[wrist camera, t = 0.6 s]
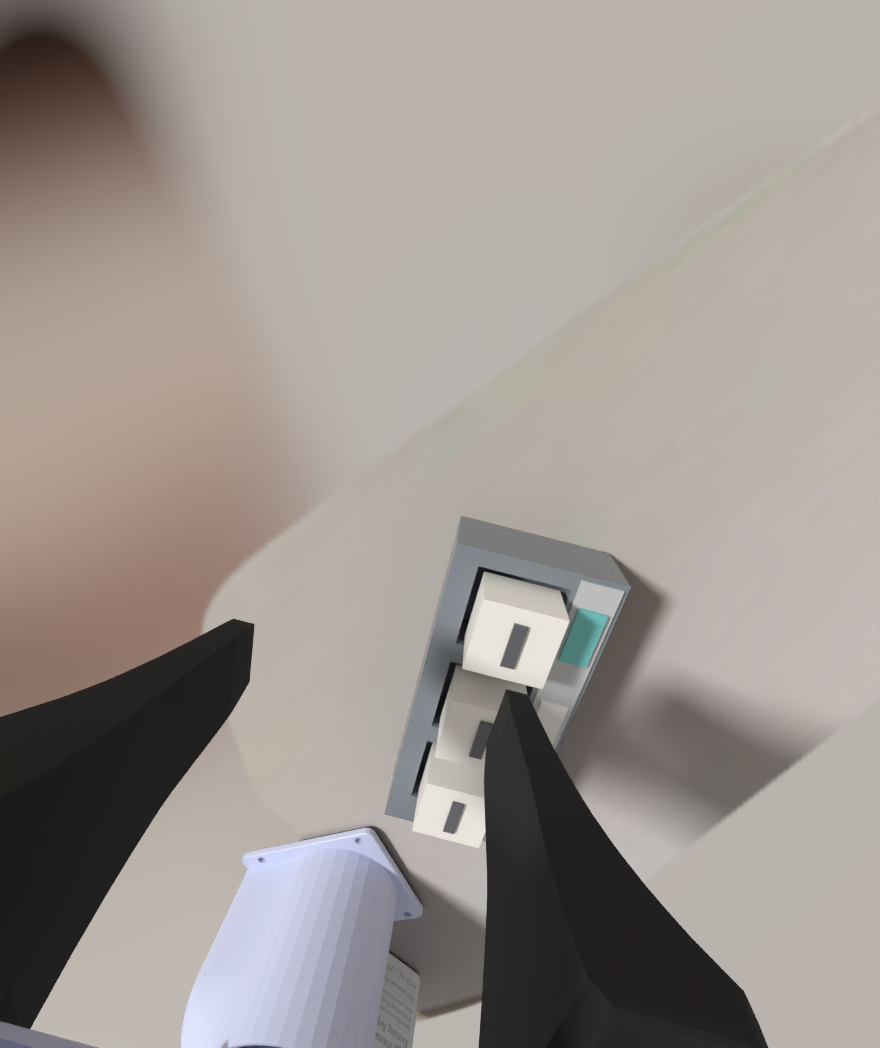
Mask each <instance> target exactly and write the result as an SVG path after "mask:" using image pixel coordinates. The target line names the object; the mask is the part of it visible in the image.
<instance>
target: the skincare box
mask: <svg viewBox="0 0 880 1048" xmlns="http://www.w3.org/2000/svg"><path fill="white" fill-rule="evenodd" d="M419 989H420V976H419V975H418V974H417V973H415V972H414V971H413V970H411V969H410V968H409V967H408V966H406V965H405V964H404V963H402V962H401V961H400V960H398V959H397V958H396V957H394V956H393V955H392V954H390V953H389V954H388V960H387V966H386V972H385V978H384V984H383V990H382V996H381V1002H380V1008H379V1014H378V1020H377V1026H376V1032H375V1038H374V1044H373V1048H412V1044H413V1036H414V1028H415V1020H416V1012H417V1005H418V997H419Z"/></svg>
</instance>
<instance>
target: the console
mask: <svg viewBox="0 0 880 1048" xmlns="http://www.w3.org/2000/svg"><path fill="white" fill-rule="evenodd" d="M484 572H488V573H492V574H496V575H500V576H504V577H508V578H512V579H515V580H519V581H523V582H527V583H531V584H535V585H539V586H543V587H547V588H551V589H555V590H559V591H560V592H561V595H562V598H563V602H564V605H565V608H566V611H567V614H568V617H569V620H570V622H569V624H568V627H567V629H566V632H565V634H564V637H563V639H562V642H561V644H560V647H559V649H558V652H557V654H556V657H555V659H554V662H553V664H552V667H551V669H550V672H549V674H548V677H547V679H546V682H545V684H544V687H543V689H539V688H535V687H531V686H527V685H526V689H527V695H528V696H529V698H530V700H531V702H532V704H533V706H534V708H535V710H536V713H537V715H538V717H539V719H540V721H541V723H542V725H543V727H544V729H545V731H546V733H547V736H548V738H549V740H550V741H551V743H552V745H553V747H554V749H555V751H556V753H557V752H558V750H559V748H560V746H561V743H562V741H563V739H564V737H565V734H566V732H567V730H568V728H569V725H570V723H571V721H572V719H573V717H574V714H575V712H576V710H577V708H578V705H579V703H580V701H581V699H582V696H583V694H584V692H585V690H586V687H587V685H588V683H589V681H590V678H591V676H592V674H593V672H594V669H595V667H596V665H597V663H598V660H599V658H600V656H601V654H602V651H603V649H604V647H605V645H606V643H607V640H608V638H609V636H610V634H611V631H612V629H613V627H614V625H615V622H616V620H617V618H618V616H619V613H620V611H621V609H622V607H623V604H624V602H625V600H626V598H627V595H628V593H629V591H630V589H631V586H630V584H629V583H628V581H627V580H626V578H625V577H624V575H623V573H622V572H621V570H620V569H619V567H618V566H617V564H616V562H615V561H614V559H613V558H612V556H611V555H610V554H609V553H605V552H601V551H597V550H593V549H589V548H585V547H581V546H578V545H574V544H570V543H566V542H562V541H558V540H554V539H550V538H546V537H542V536H538V535H534V534H530V533H526V532H522V531H518V530H514V529H510V528H506V527H502V526H498V525H494V524H490V523H486V522H482V521H478V520H475V519H471V518H467V517H463V516H461V520H460V523H459V527H458V531H457V535H456V538H455V542H454V546H453V550H452V553H451V557H450V561H449V565H448V569H447V572H446V576H445V580H444V584H443V587H442V591H441V595H440V599H439V603H438V606H437V610H436V614H435V618H434V621H433V625H432V629H431V633H430V637H429V640H428V644H427V648H426V652H425V655H424V659H423V663H422V667H421V670H420V674H419V678H418V682H417V686H416V689H415V693H414V697H413V701H412V704H411V708H410V712H409V716H408V720H407V723H406V727H405V731H404V735H403V738H402V742H401V746H400V750H399V754H398V757H397V761H396V765H395V770H394V774H393V779H392V783H391V787H390V792H389V796H388V801H387V805H386V809H385V814H386V815H389V816H393V817H397V818H401V819H405V820H409V821H412V822H414V817H415V810H416V804H417V798H418V792H419V786H420V783H421V780H422V776H423V773H424V770H425V766H426V763H427V760H428V756H429V753H430V750H431V746H432V743H437V738H438V731H439V723H440V717H441V713H442V710H443V707H444V703H445V700H446V697H447V693H448V690H449V687H450V683H451V680H452V677H453V673H454V670H455V667H456V664H457V665H461V666H462V664H463V652H464V640H465V633H466V630H467V626H468V623H469V620H470V616H471V613H472V610H473V606H474V603H475V600H476V596H477V593H478V590H479V586H480V583H481V580H482V576H483V573H484ZM482 840H485V841H486V832H485V834H484V837H483V839H482Z"/></svg>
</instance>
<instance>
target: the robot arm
mask: <svg viewBox="0 0 880 1048" xmlns="http://www.w3.org/2000/svg"><path fill="white" fill-rule="evenodd" d="M253 635H254V624H252V623H248V622H244V621H240V620H236V619H232V620H230V621H228V622H226V623H224V624H222V625H220V626H218V627H216V628H214V629H212V630H211V631H209V632H207V633H205V634H203V635H201V636H199V637H197V638H195V639H193V640H192V641H190V642H188V643H186V644H184V645H182V646H180V647H178V648H176V649H174V650H172V651H170V652H168V653H166V654H164V655H162V656H160V657H158V658H155V659H153V660H151V661H149V662H147V663H145V664H143V665H140V666H138V667H136V668H134V669H131V670H130V671H127V672H125V673H123V674H121V675H118V676H116V677H114V678H111V679H109V680H107V681H104V682H101V683H99V684H96V685H94V686H91V687H89V688H86V689H83V690H81V691H78V692H75V693H73V694H70V695H67V696H65V697H62V698H59V699H56V700H53V701H49V702H46V703H44V704H40V705H37V706H34V707H31V708H28V709H25V710H22V711H18V712H15V713H12V714H9V715H6V716H3V717H0V1048H97V1047H93V1046H90V1045H86V1044H82V1043H79V1042H75V1041H71V1040H68V1039H64V1038H60V1037H56V1036H53V1035H49V1034H45V1033H42V1032H38V1031H35V1030H31V1029H30V1028H31V1026H32V1025H33V1023H34V1020H35V1019H36V1017H37V1015H38V1013H39V1012H40V1010H41V1008H42V1006H43V1004H44V1003H45V1001H46V999H47V997H48V996H49V994H50V992H51V990H52V988H53V987H54V985H55V983H56V981H57V979H58V978H59V976H60V974H61V972H62V970H63V969H64V967H65V965H66V963H67V961H68V960H69V958H70V956H71V954H72V952H73V951H74V949H75V947H76V946H77V944H78V942H79V941H80V939H81V937H82V935H83V934H84V932H85V930H86V929H87V927H88V925H89V923H90V922H91V920H92V918H93V917H94V915H95V913H96V911H97V910H98V908H99V906H100V904H101V903H102V901H103V899H104V898H105V896H106V894H107V892H108V891H109V889H110V888H111V886H112V884H113V883H114V881H115V879H116V878H117V876H118V875H119V873H120V871H121V870H122V868H123V866H124V865H125V863H126V862H127V860H128V858H129V857H130V855H131V853H132V852H133V850H134V848H135V847H136V845H137V844H138V842H139V841H140V839H141V837H142V836H143V834H144V833H145V831H146V829H147V828H148V826H149V825H150V823H151V822H152V820H153V818H154V817H155V815H156V814H157V812H158V811H159V809H160V808H161V806H162V805H163V803H164V802H165V801H166V799H167V798H168V796H169V795H170V794H171V792H172V791H173V789H174V788H175V787H176V785H177V784H178V783H179V781H180V780H181V779H182V778H183V776H184V775H185V774H186V772H187V771H188V770H189V768H190V767H191V766H192V764H193V763H194V761H195V760H196V759H197V758H198V756H199V755H200V754H201V752H202V751H203V750H204V749H205V747H206V746H207V745H208V743H209V742H210V741H211V739H212V738H213V737H214V736H215V734H216V733H217V732H218V730H219V729H220V728H221V726H222V725H223V724H224V722H225V721H226V720H227V718H228V717H229V715H230V714H231V712H232V711H233V709H234V707H235V706H236V704H237V702H238V701H239V699H240V697H241V696H242V694H243V692H244V690H245V689H246V687H247V685H248V683H249V681H250V669H251V658H252V647H253ZM484 805H485V830H486V855H487V914H486V937H485V956H484V974H483V992H482V1007H481V1008H482V1009H481V1022H480V1036H479V1048H768V1046H767V1044H766V1041H765V1038H764V1036H763V1033H762V1031H761V1028H760V1026H759V1023H758V1021H757V1019H756V1017H755V1014H754V1012H753V1010H752V1008H751V1006H750V1003H749V1001H748V999H747V997H746V995H745V993H744V991H743V990H742V989H741V988H740V987H739V986H738V985H737V984H736V983H735V982H734V981H733V980H732V979H731V978H730V977H729V976H728V975H727V974H726V973H725V972H724V971H723V970H722V969H721V968H720V967H719V966H718V965H717V963H715V961H713V959H712V958H711V957H710V956H709V955H708V954H707V953H706V952H705V951H704V950H703V949H702V948H701V947H700V946H699V945H698V944H697V943H696V942H695V941H694V940H693V939H692V938H691V937H690V936H689V935H688V934H687V932H686V931H685V930H684V929H683V928H682V927H681V926H680V925H679V924H678V922H677V921H676V920H675V919H674V918H673V917H672V916H671V915H670V913H669V912H668V911H667V910H666V909H665V908H664V907H663V906H662V904H661V903H660V902H659V901H658V900H657V899H656V897H655V896H654V895H653V894H652V893H651V891H650V890H648V888H647V887H646V886H645V884H644V883H643V882H642V881H641V879H640V878H639V877H638V876H637V874H636V873H635V872H634V870H633V869H632V868H631V867H630V865H629V864H628V863H627V862H626V860H625V859H624V858H623V857H622V855H621V854H620V853H619V851H618V850H617V849H616V847H615V846H614V845H613V843H612V842H611V840H610V839H609V838H608V836H607V835H606V833H605V832H604V830H603V829H602V828H601V826H600V825H599V823H598V822H597V820H596V819H595V817H594V816H593V815H592V813H591V812H590V810H589V808H588V807H587V805H586V804H585V802H584V800H583V799H582V797H581V795H580V794H579V792H578V790H577V789H576V787H575V785H574V784H573V782H572V780H571V779H570V777H569V775H568V773H567V772H566V770H565V768H564V766H563V764H562V762H561V760H560V759H559V757H558V755H557V753H556V751H555V749H554V747H553V745H552V743H551V741H550V740H549V738H548V736H547V733H546V731H545V729H544V727H543V725H542V723H541V721H540V719H539V717H538V715H537V713H536V710H535V708H534V706H533V704H532V702H531V700H530V698H529V696H528V695H527V694H523V693H519V692H516V691H512V690H508V689H506V691H505V693H504V696H503V699H502V702H501V704H500V707H499V710H498V713H497V715H496V718H495V721H494V724H493V727H492V729H491V732H490V735H489V738H488V740H487V743H486V756H485V769H484ZM242 863H243V865H244V866H245V867H246V868H247V872H246V875H245V877H244V879H243V881H242V883H241V885H240V887H239V889H238V892H237V894H236V896H235V898H234V900H233V902H232V904H231V906H230V909H229V911H228V913H227V915H226V917H225V919H224V921H223V923H222V926H221V928H220V930H219V932H218V934H217V936H216V938H215V940H214V943H213V945H212V947H211V949H210V951H209V953H208V956H207V958H206V960H205V962H204V964H203V966H202V968H201V970H200V972H199V975H198V977H197V979H196V981H195V984H194V986H193V989H192V991H191V994H190V998H189V1001H188V1004H187V1008H186V1012H185V1017H184V1022H183V1028H182V1036H181V1048H373V1044H374V1038H375V1032H376V1026H377V1020H378V1014H379V1008H380V1002H381V996H382V990H383V984H384V978H385V972H386V966H387V960H388V954H389V948H390V942H391V936H392V930H393V924H394V921H400V920H407V919H414V918H419V917H420V916H422V912H423V907H422V905H421V903H420V902H419V900H418V899H417V897H416V895H415V894H414V892H413V891H412V889H411V888H410V886H409V884H408V883H407V881H406V880H405V878H404V877H403V875H402V873H401V872H400V870H399V869H398V867H397V865H396V864H395V862H394V861H393V859H392V858H391V856H390V854H389V853H388V851H387V850H386V848H385V847H384V845H383V843H382V842H381V840H380V839H379V837H378V836H377V834H376V832H375V831H374V830H373V829H371V828H361V829H356V830H352V831H347V832H342V833H337V834H332V835H327V836H322V837H317V838H313V839H308V840H303V841H298V842H293V843H288V844H284V845H278V846H274V847H269V848H264V849H259V850H254V851H249V852H247V853H245V854H244V856H243V858H242Z"/></svg>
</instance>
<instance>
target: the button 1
mask: <svg viewBox="0 0 880 1048" xmlns="http://www.w3.org/2000/svg"><path fill="white" fill-rule="evenodd" d="M436 746H437V743H432V746H431V750H430V753H429V756H428V760H427V763H426V766H425V770H424V773H423V776H422V780H421V783H420V786H419V792H418V798H417V804H416V810H415V817H414V823H413V829H412V831H415V832H419V833H423V834H426V835H430V836H434V837H438V838H442V839H445V840H449V841H453V842H457V843H461V844H465V845H468V846H472V847H476V848H479V847H480V844H481V842H482V839H483V837H484V834H485V832H486V830H485V805H484V770H482V769H478V768H474V767H471V766H467V765H463V764H459V763H455V762H451V761H448V760H444V759H440V758H436V757H435V753H436Z"/></svg>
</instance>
